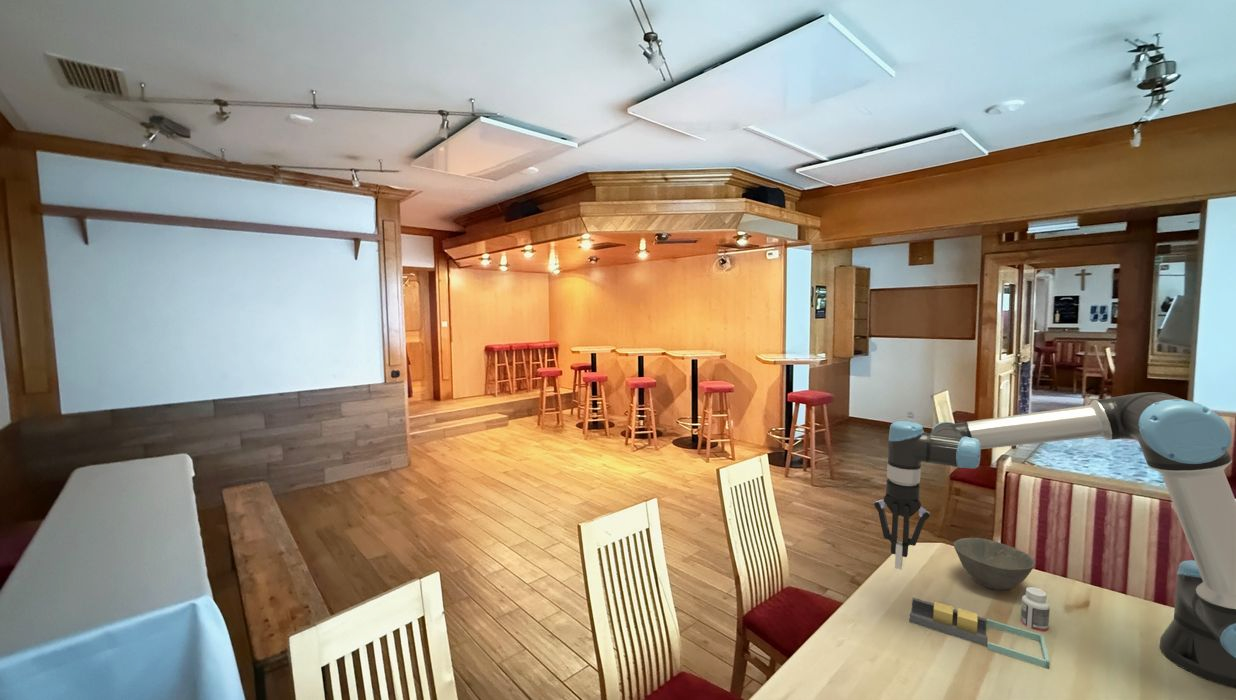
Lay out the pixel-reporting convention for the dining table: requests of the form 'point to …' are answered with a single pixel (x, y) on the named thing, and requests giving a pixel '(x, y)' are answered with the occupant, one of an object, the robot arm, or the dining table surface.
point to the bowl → (993, 562)
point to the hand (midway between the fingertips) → (898, 566)
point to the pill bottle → (1035, 609)
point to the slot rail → (924, 617)
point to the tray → (1018, 654)
